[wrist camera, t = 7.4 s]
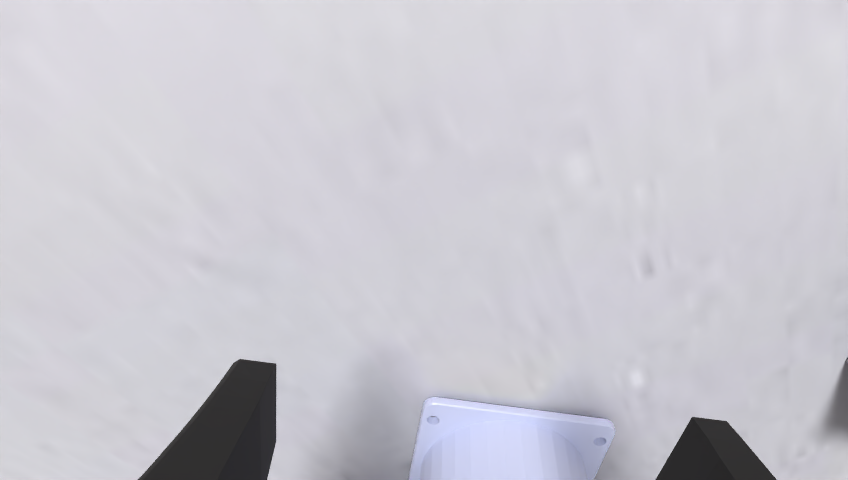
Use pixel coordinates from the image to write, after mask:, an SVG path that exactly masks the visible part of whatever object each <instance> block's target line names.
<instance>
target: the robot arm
mask: <svg viewBox="0 0 848 480" xmlns="http://www.w3.org/2000/svg"><path fill="white" fill-rule="evenodd" d="M431 416H436V417H431ZM615 432H616V431H615V427H614V424H613V422H611V421H610V420H607V419H603V418H595V417H587V416H579V415H572V414H564V413H556V412H548V411H541V410H533V409H525V408H518V407H510V406H502V405H494V404H487V403H479V402H471V401H463V400H456V399H448V398H440V397H431V398H428V399H426V400H425V401H424V403H423V406H422V412H421V417H420V422H419V427H418V432H417V437H416V442H415V447H414V452H413V457H412V462H411V467H410V472H409V477H408V480H594V478H595V476H596V474H597V472H598V470H599V468H600V465H601V463H602V461H603V459H604V457H605V455H606V453H607V451H608V448H609V446H610V444H611V442H612V440H613V438H614V436H615ZM275 443H276V364H274V363H266V362H259V361H251V360H243V359H239V360H238V361H236V362H235V363H233V365H232V366H231V367H230V369H229V370H228V372H227V373H226V374H225V376H224V377H223V379H222V380H221V381H220V383H219V384H218V385H217V387H216V388H215V389H214V391H213V392H212V393H211V395H210V396H209V397H208V398H207V400H206V401H205V402H204V404H203V405H202V406H201V407H200V409H199V410H198V411H197V412H196V413H195V415H194V416H193V417H192V418H191V420H190V421H189V422H188V423H187V425H186V426H185V427H184V428H183V429H182V430H181V432H180V433H179V434H178V435H177V436H176V437H175V439H174V440H173V441H172V442H171V443H170V444H169V445H168V447H167V448H166V449H165V450H164V451H163V452H162V454H161V455H160V456H159V457H158V458H157V459H156V460H155V462H154V463H153V464H152V465H151V466H150V467H149V468H148V469H147V471H146V472H145V473H144V474H143V475H142V476H141V477H140V478H139V479H138V480H267V477H268V473H269V469H270V465H271V460H272V456H273V452H274V448H275ZM656 480H776V478H775V477H774V476H773V475H772V474H771V473H770V471H769V470H768V469H767V468H766V467H765V465H764V464H763V463H762V462H761V461H760V459H759V458H758V457H757V456H756V455H755V454H754V452H753V451H752V450H751V449H750V448H749V446H748V445H747V444H746V443H745V442H744V441H743V439H742V438H741V437H740V436H739V435H738V434H737V433H736V431H735V430H734V429H733V428H732V427H731V426H730V425H729V423H728V422H727V421H720V420H712V419H705V418H697V417H692V418H691V420H690V422H689V423H688V425H687V427H686V429H685V430H684V432H683V434H682V435H681V437H680V439H679V441H678V442H677V444H676V446H675V447H674V449H673V451H672V453H671V454H670V456H669V458H668V459H667V461H666V463H665V465H664V466H663V468H662V470H661V471H660V473H659V475H658V477H657V478H656Z"/></svg>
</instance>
